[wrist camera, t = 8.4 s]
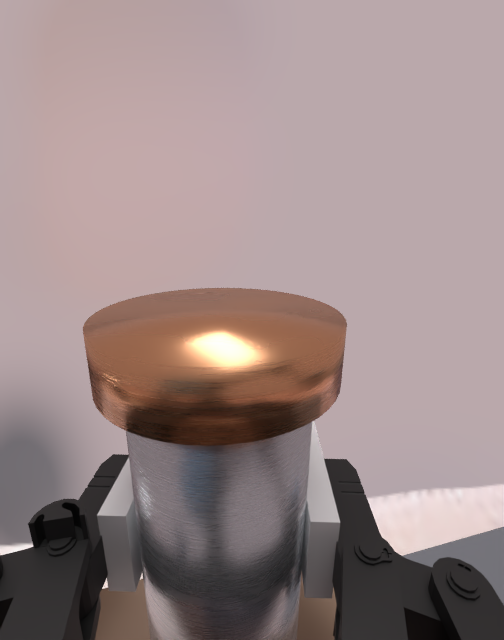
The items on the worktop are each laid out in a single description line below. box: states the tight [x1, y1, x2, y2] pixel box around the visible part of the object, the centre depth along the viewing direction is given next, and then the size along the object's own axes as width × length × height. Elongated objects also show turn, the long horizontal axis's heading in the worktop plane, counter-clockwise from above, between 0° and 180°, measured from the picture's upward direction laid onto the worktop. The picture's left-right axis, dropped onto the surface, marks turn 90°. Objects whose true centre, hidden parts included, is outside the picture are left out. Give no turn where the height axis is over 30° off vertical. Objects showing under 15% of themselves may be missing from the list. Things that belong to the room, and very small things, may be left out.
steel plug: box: [83, 288, 347, 640], centre depth 11 cm, size 6×6×16 cm
